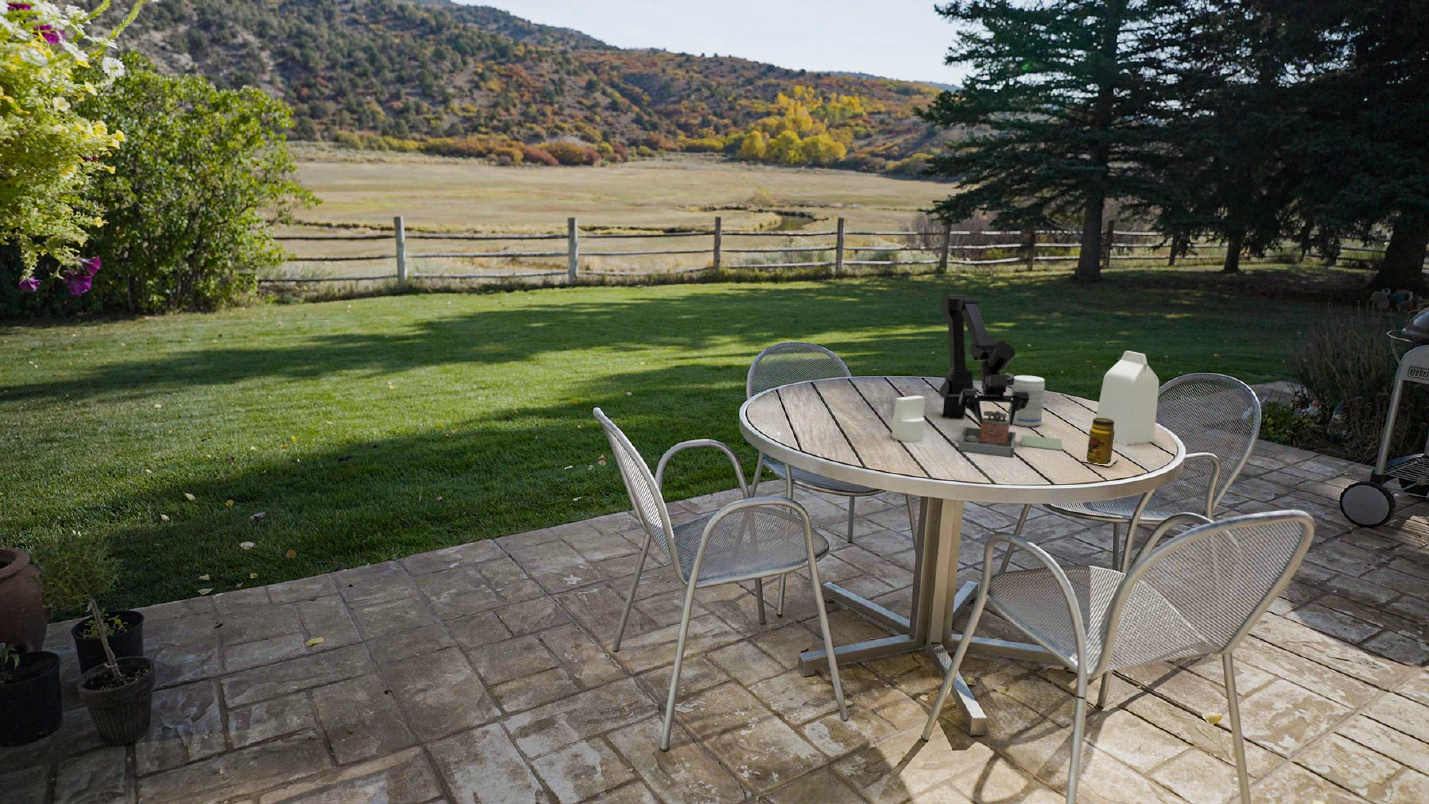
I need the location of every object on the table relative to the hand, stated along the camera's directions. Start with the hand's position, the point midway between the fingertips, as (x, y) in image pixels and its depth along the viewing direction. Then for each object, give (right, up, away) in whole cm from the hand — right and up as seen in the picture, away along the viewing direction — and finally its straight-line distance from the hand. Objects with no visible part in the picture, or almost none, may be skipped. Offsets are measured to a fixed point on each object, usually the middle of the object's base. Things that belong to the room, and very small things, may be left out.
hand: (996, 424), depth 239 cm
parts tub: (-2, -6, +3) cm, 7 cm away
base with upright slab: (-23, -4, +9) cm, 25 cm away
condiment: (+25, -10, -10) cm, 29 cm away
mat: (+15, -6, +6) cm, 17 cm away
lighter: (0, -6, +3) cm, 7 cm away
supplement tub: (+18, -1, +28) cm, 33 cm away
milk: (+43, -5, +13) cm, 45 cm away
